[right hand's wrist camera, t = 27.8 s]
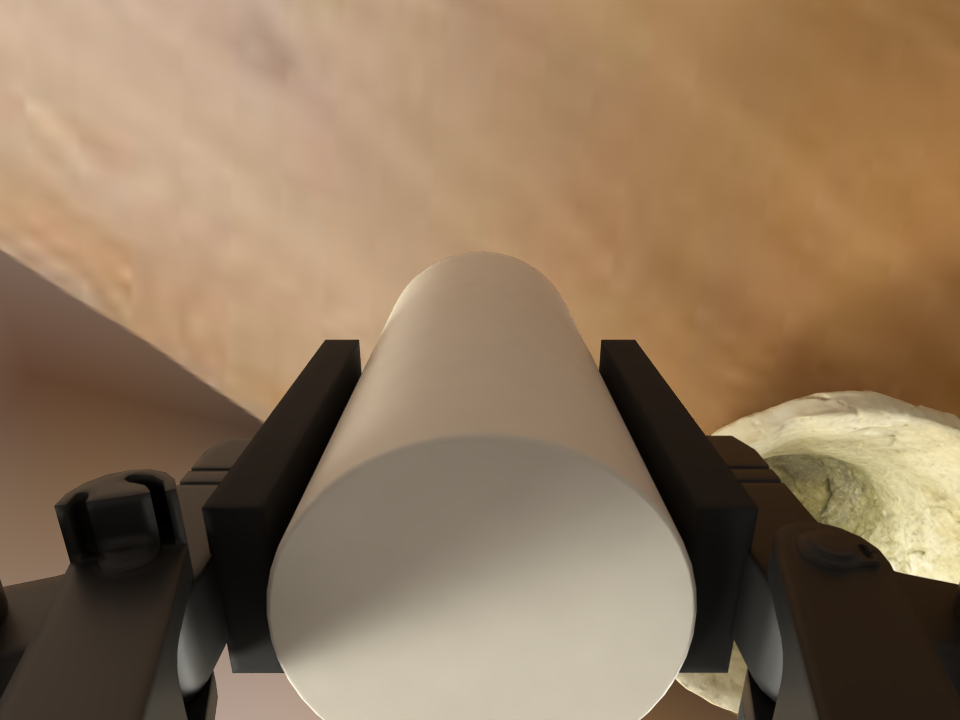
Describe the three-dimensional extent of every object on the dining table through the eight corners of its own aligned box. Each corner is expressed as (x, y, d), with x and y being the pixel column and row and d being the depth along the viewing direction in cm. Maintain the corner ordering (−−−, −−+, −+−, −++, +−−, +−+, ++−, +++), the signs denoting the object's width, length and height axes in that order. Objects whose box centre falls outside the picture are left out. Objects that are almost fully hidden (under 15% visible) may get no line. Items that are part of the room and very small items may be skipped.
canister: (413, 441, 19) (336, 802, 9) (366, 273, 17) (199, 484, 7) (586, 408, 19) (714, 746, 8) (557, 233, 17) (676, 393, 7)
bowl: (806, 524, 41) (717, 735, 35) (663, 334, 35) (525, 553, 29) (1093, 573, 29) (1031, 904, 23) (956, 299, 23) (824, 658, 17)
